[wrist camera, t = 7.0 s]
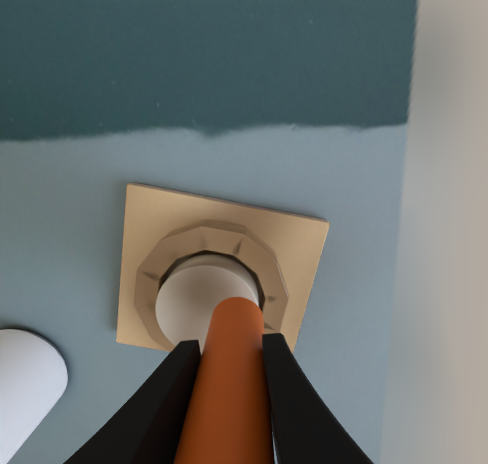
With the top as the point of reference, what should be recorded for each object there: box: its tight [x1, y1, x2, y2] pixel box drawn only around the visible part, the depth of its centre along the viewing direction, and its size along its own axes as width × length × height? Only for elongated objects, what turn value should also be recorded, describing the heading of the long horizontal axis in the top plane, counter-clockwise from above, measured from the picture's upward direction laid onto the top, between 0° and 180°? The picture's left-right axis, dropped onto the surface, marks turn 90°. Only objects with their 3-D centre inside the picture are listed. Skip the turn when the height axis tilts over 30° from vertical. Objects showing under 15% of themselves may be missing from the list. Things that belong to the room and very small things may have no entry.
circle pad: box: [155, 254, 259, 355], centre depth 13 cm, size 5×5×2 cm
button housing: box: [116, 183, 330, 354], centre depth 14 cm, size 11×10×2 cm
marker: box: [173, 297, 275, 464], centre depth 6 cm, size 2×2×9 cm
